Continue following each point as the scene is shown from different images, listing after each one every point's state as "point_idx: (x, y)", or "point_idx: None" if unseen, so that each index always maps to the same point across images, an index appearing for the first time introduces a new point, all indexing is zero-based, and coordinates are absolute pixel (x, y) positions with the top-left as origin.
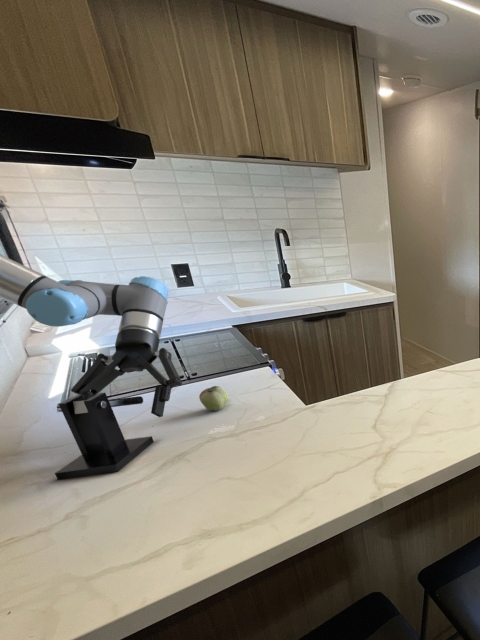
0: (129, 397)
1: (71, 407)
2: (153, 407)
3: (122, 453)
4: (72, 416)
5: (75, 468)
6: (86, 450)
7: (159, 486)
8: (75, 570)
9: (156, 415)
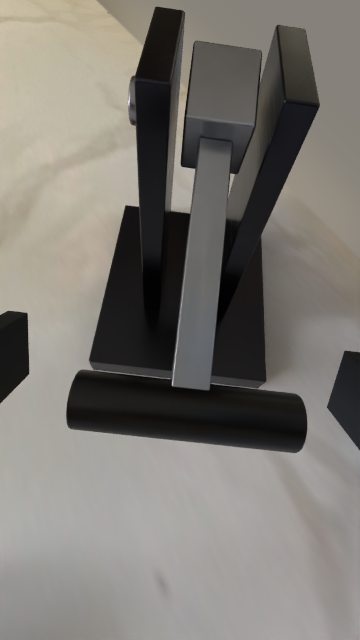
0: (141, 401)
1: (264, 82)
2: (2, 321)
3: (137, 262)
4: None
5: None
6: None
7: (15, 135)
8: (72, 31)
9: (26, 351)
